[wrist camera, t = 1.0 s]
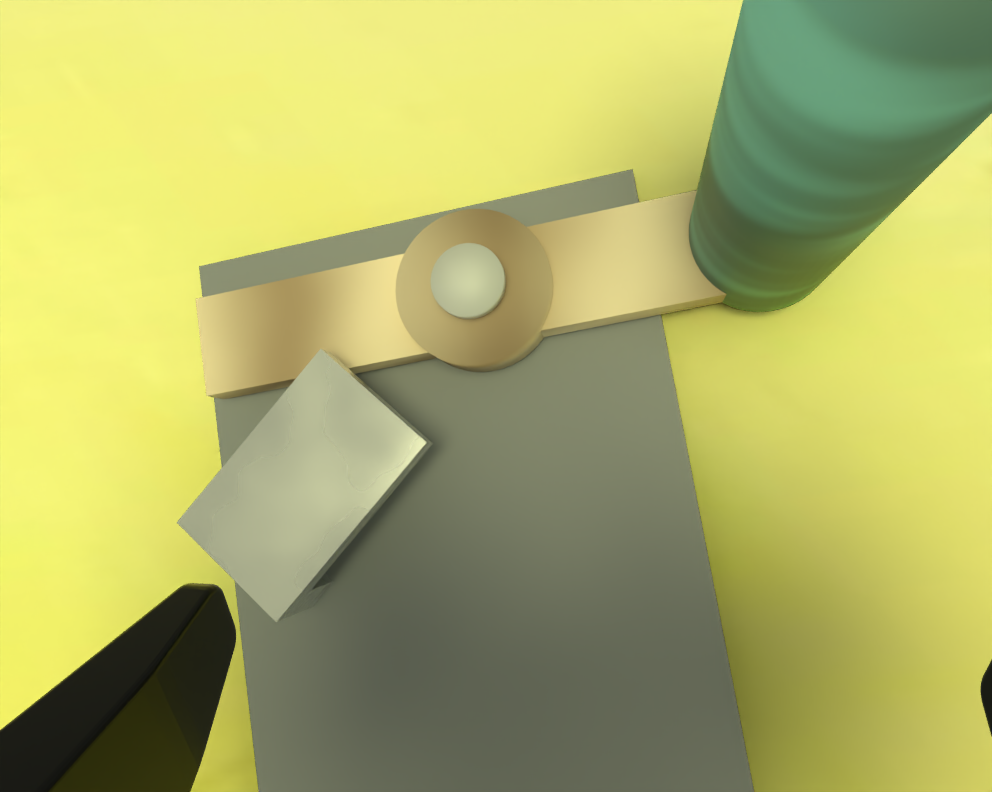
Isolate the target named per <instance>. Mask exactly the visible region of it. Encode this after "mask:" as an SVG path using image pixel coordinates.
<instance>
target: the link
mask: <svg viewBox="0 0 992 792" xmlns="http://www.w3.org/2000/svg"><path fill="white" fill-rule="evenodd" d="M991 113H992V0H743V3H742V8H741V12H740V16H739V20H738V24H737V28H736V32H735V36H734V40H733V44H732V49H731V53H730V57H729V61H728V65H727V69H726V73H725V77H724V81H723V85H722V90H721V94H720V98H719V102H718V106H717V110H716V114H715V118H714V122H713V127H712V131H711V135H710V139H709V143H708V147H707V151H706V155H705V159H704V163H703V168H702V172H701V176H700V180H699V184H698V188H697V190H694V191H690V192H685V193H680V194H676V195H671V196H667V197H662V198H657V199H653V200H648V201H644V202H639V203H634V204H630V205H625V206H621V207H616V208H611V209H607V210H602V211H598V212H593V213H588V214H584V215H579V216H575V217H570V218H565V219H561V220H556V221H552V222H547V223H542V224H538V225H533V226H529V227H526V226H524V225H523V224H522V223H520V222H519V221H518V220H516V219H514V218H512V217H511V216H509V215H506V214H503V213H501V212H497V211H493V210H488V209H467V210H460V211H457V212H453V213H450V214H448V215H445V216H443V217H441V218H439V219H437V220H436V221H434V222H432V223H431V224H430V225H428V226H427V227H426V228H424V229H423V230H422V231H421V232H420V233H419V234H418V235H417V236H416V237H415V239H414V240H413V241H412V242H411V244H410V245H409V247H408V248H407V250H406V252H405V253H404V254H400V255H395V256H391V257H386V258H381V259H377V260H372V261H368V262H363V263H358V264H354V265H349V266H345V267H340V268H335V269H331V270H326V271H322V272H317V273H312V274H308V275H303V276H299V277H294V278H289V279H285V280H280V281H276V282H271V283H266V284H262V285H257V286H253V287H248V288H243V289H239V290H234V291H230V292H225V293H220V294H216V295H211V296H206V297H202V298H197V299H196V306H197V315H198V324H199V333H200V341H201V350H202V359H203V368H204V377H205V386H206V395H207V396H210V397H215V398H220V399H228V398H233V397H238V396H243V395H249V394H254V393H259V392H264V391H269V390H274V389H279V388H285V387H289V386H290V385H291V384H292V383H293V381H294V380H295V379H296V378H297V377H298V375H299V374H300V373H301V372H302V371H303V369H304V368H305V367H306V366H307V365H308V363H309V362H310V361H311V360H312V358H313V357H314V356H315V355H316V354H317V352H318V351H319V350H320V349H323V350H325V351H328V352H330V353H331V354H333V355H334V356H335V357H336V358H337V359H338V360H339V361H340V362H342V363H343V364H344V365H345V366H346V367H347V368H348V369H350V370H351V371H352V372H353V373H354V374H357V373H362V372H367V371H372V370H377V369H382V368H388V367H393V366H398V365H403V364H408V363H413V362H418V361H424V360H429V359H434V358H438V359H440V360H442V361H443V362H445V363H447V364H448V365H451V366H453V367H455V368H458V369H462V370H465V371H472V372H488V371H495V370H499V369H503V368H506V367H508V366H511V365H513V364H515V363H517V362H518V361H520V360H522V359H523V358H525V357H526V356H527V355H529V354H530V353H531V352H532V351H533V350H534V349H535V348H536V347H537V346H538V345H539V343H540V342H541V341H542V340H543V338H544V337H547V336H552V335H557V334H563V333H568V332H573V331H578V330H583V329H588V328H594V327H599V326H604V325H609V324H614V323H619V322H624V321H630V320H635V319H640V318H645V317H650V316H655V315H660V314H666V313H671V312H676V311H681V310H686V309H691V308H696V307H702V306H707V305H712V304H717V303H724V304H726V305H728V306H731V307H733V308H736V309H740V310H744V311H752V312H766V311H774V310H778V309H782V308H785V307H788V306H790V305H793V304H795V303H797V302H798V301H800V300H802V299H803V298H805V297H806V296H807V295H809V294H810V293H811V292H812V291H813V290H814V289H815V288H816V287H817V286H818V285H819V284H820V283H821V282H822V281H823V280H824V279H825V278H826V277H827V276H828V275H829V274H830V273H831V272H832V271H833V270H834V269H835V268H836V267H837V266H839V265H840V264H841V263H842V262H843V261H844V260H845V259H846V258H847V257H848V256H849V255H850V254H851V253H852V252H853V251H854V250H855V249H856V248H857V247H858V246H859V245H860V244H861V243H862V242H863V241H864V240H865V239H866V238H867V237H868V236H869V235H870V234H871V233H872V232H873V231H874V230H875V229H876V228H877V227H878V226H879V225H880V224H881V223H882V222H883V221H884V220H885V219H886V218H887V217H888V216H889V215H890V214H891V213H892V212H893V211H894V210H895V209H896V208H897V207H898V206H899V205H900V204H901V203H902V202H903V201H904V200H905V199H906V198H907V197H908V196H909V195H910V194H911V193H912V192H913V191H914V190H915V189H916V188H917V187H918V186H919V185H920V184H921V183H922V182H923V181H924V180H925V179H926V178H927V177H928V176H929V175H930V174H931V173H932V172H933V171H934V170H935V169H936V168H937V167H938V166H939V165H940V164H941V163H942V162H943V161H944V160H945V159H946V158H947V157H948V156H949V155H950V154H951V153H952V152H953V151H954V150H955V149H956V148H957V147H958V146H959V145H960V144H961V143H962V142H963V141H964V140H965V139H966V138H967V137H968V136H969V135H970V134H971V133H972V132H973V131H974V130H975V129H976V128H977V127H978V126H979V125H980V124H981V123H982V122H983V121H984V120H985V119H986V118H987V117H988V116H989V115H990V114H991ZM463 243H475V244H479V245H482V246H484V247H486V248H488V249H489V250H491V251H492V252H493V253H494V254H495V255H496V257H497V258H498V259H499V261H500V263H501V264H502V266H503V269H504V271H505V275H506V288H505V292H504V295H503V297H502V299H501V301H500V303H499V304H498V305H497V306H496V308H494V309H493V310H492V311H491V312H490V313H488V314H486V315H485V316H482V317H480V318H476V319H461V318H457V317H455V316H453V315H451V314H449V313H448V312H447V311H445V310H444V309H443V308H442V307H441V306H440V305H439V304H438V303H437V301H436V300H435V298H434V296H433V293H432V290H431V273H432V270H433V267H434V265H435V263H436V261H437V260H438V258H439V257H440V256H441V255H442V254H443V253H444V252H445V251H446V250H448V249H449V248H451V247H453V246H456V245H459V244H463Z"/></svg>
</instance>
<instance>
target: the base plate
mask: <svg viewBox="0 0 992 792" xmlns="http://www.w3.org/2000/svg"><path fill="white" fill-rule="evenodd" d="M634 203H639V200H638V195H637V190H636V185H635V180H634V175H633V169H632V170H627V171H623V172H618V173H614V174H609V175H605V176H600V177H596V178H591V179H587V180H583V181H578V182H574V183H569V184H565V185H560V186H556V187H551V188H547V189H542V190H538V191H534V192H529V193H525V194H520V195H516V196H511V197H507V198H502V199H498V200H493V201H489V202H484V203H480V204H476V205H471V206H467V207H462V208H458V209H453V210H449V211H444V212H440V213H435V214H431V215H426V216H422V217H418V218H413V219H409V220H404V221H400V222H395V223H391V224H386V225H382V226H377V227H373V228H368V229H364V230H360V231H355V232H351V233H346V234H342V235H337V236H333V237H328V238H324V239H319V240H315V241H310V242H306V243H302V244H297V245H293V246H288V247H284V248H279V249H275V250H270V251H266V252H261V253H257V254H252V255H248V256H244V257H239V258H235V259H230V260H226V261H221V262H217V263H212V264H208V265H203V266H199V270H200V279H201V288H202V296H203V297H206V296H211V295H216V294H220V293H225V292H230V291H234V290H239V289H243V288H248V287H253V286H257V285H262V284H266V283H271V282H276V281H280V280H285V279H289V278H294V277H299V276H303V275H308V274H312V273H317V272H322V271H326V270H331V269H335V268H340V267H345V266H349V265H354V264H358V263H363V262H368V261H372V260H377V259H381V258H386V257H391V256H395V255H400V254H404V253H405V252H406V250H407V248H408V247H409V245H410V244H411V242H412V241H413V240H414V239H415V237H416V236H417V235H418V234H419V233H420V232H421V231H422V230H423V229H424V228H426V227H427V226H428V225H430V224H431V223H432V222H434V221H436V220H437V219H439V218H441V217H443V216H445V215H448V214H450V213H453V212H457V211H460V210H467V209H488V210H493V211H497V212H501V213H503V214H506V215H509V216H511V217H512V218H514V219H516V220H518V221H519V222H520V223H522V224H523V225H524V226H526V227H529V226H533V225H538V224H542V223H547V222H552V221H556V220H561V219H565V218H570V217H575V216H579V215H584V214H588V213H593V212H598V211H602V210H607V209H611V208H616V207H621V206H625V205H630V204H634ZM505 288H506V275H505V271H504V269H503V266H502V264H501V263H500V261H499V259H498V258H497V257H496V255H495V254H494V253H493V252H492V251H491V250H489V249H488V248H486V247H484V246H482V245H479V244H475V243H463V244H459V245H456V246H453V247H451V248H449V249H448V250H446V251H445V252H444V253H443V254H442V255H441V256H440V257H439V258H438V260H437V261H436V263H435V265H434V267H433V270H432V273H431V290H432V293H433V296H434V298H435V300H436V301H437V303H438V304H439V305H440V306H441V307H442V308H443V309H444V310H445V311H447V312H448V313H449V314H451V315H453V316H455V317H457V318H461V319H476V318H480V317H482V316H485V315H486V314H488V313H490V312H491V311H492V310H493V309H494V308H496V306H497V305H498V304H499V303H500V301H501V299H502V297H503V295H504V292H505ZM355 375H356V376H357V377H359V378H360V379H361V380H362V381H363V382H364V383H365V384H366V385H368V386H369V387H370V388H371V389H372V390H373V391H374V392H376V393H377V394H378V395H379V396H380V397H381V398H382V399H383V400H385V401H386V402H387V403H388V404H389V405H390V406H391V407H392V408H394V409H395V410H396V411H397V412H398V413H399V414H400V415H402V416H403V417H404V418H405V419H406V420H407V421H408V422H409V423H411V424H412V425H413V426H414V427H415V428H416V429H417V430H418V431H420V432H421V433H422V434H423V435H424V436H425V437H426V438H428V439H429V440H430V441H431V442H432V443H433V444H432V446H431V447H430V448H429V449H428V450H427V452H426V453H425V454H424V455H423V456H422V458H421V459H420V460H419V461H418V462H417V464H416V465H415V466H414V467H413V468H412V469H411V471H410V472H409V473H408V474H407V475H406V477H405V478H404V479H403V480H402V481H401V483H400V484H399V485H398V486H397V487H396V489H395V490H394V491H393V492H392V493H391V495H390V496H389V497H388V498H387V499H386V501H385V502H384V503H383V504H382V505H381V507H380V508H379V509H378V510H377V511H376V513H375V514H374V515H373V516H372V517H371V518H370V520H369V521H368V522H367V523H366V524H365V526H364V527H363V528H362V529H361V530H360V532H359V533H358V534H357V535H356V536H355V538H354V539H353V540H352V541H351V542H350V544H349V545H348V546H347V547H346V548H345V550H344V551H343V552H342V553H341V554H340V556H339V557H338V558H337V559H336V560H335V562H334V563H333V564H332V565H331V566H330V567H329V569H328V570H327V571H326V572H325V573H326V574H327V575H328V576H329V577H330V578H331V579H332V580H333V581H334V582H333V583H332V585H331V586H330V587H329V588H328V589H327V591H326V592H325V593H324V594H323V595H322V597H321V598H320V599H319V600H318V601H317V602H316V604H315V605H314V606H313V607H312V608H309V609H307V610H304V611H302V612H300V613H297V614H295V615H292V616H290V617H288V618H285V619H283V620H280V621H278V622H275V621H274V620H273V619H272V618H271V617H270V616H269V615H268V614H267V613H266V612H265V611H264V610H263V609H262V608H261V607H260V606H259V605H258V604H257V603H256V602H255V601H254V600H253V599H252V598H251V597H250V596H249V595H248V594H247V593H246V592H245V591H244V590H243V589H242V588H241V587H240V586H239V585H238V583H237V582H236V581H235V587H236V596H237V605H238V614H239V622H240V631H241V640H242V649H243V658H244V666H245V675H246V684H247V693H248V702H249V711H250V719H251V728H252V737H253V746H254V755H255V763H256V772H257V781H258V790H259V792H754V789H753V783H752V778H751V773H750V768H749V763H748V758H747V753H746V748H745V743H744V737H743V732H742V727H741V722H740V717H739V712H738V707H737V702H736V696H735V691H734V686H733V681H732V676H731V671H730V666H729V661H728V656H727V650H726V645H725V640H724V635H723V630H722V625H721V620H720V615H719V609H718V604H717V599H716V594H715V589H714V584H713V579H712V574H711V569H710V563H709V558H708V553H707V548H706V543H705V538H704V533H703V528H702V522H701V517H700V512H699V507H698V502H697V497H696V492H695V487H694V482H693V476H692V471H691V466H690V461H689V456H688V451H687V446H686V441H685V435H684V430H683V425H682V420H681V415H680V410H679V405H678V400H677V395H676V389H675V384H674V379H673V374H672V369H671V364H670V359H669V354H668V349H667V343H666V338H665V333H664V328H663V323H662V318H661V314H660V315H655V316H650V317H645V318H640V319H635V320H630V321H624V322H619V323H614V324H609V325H604V326H599V327H594V328H588V329H583V330H578V331H573V332H568V333H563V334H557V335H552V336H547V337H544V338H543V340H542V341H541V342H540V343H539V345H538V346H537V347H536V348H535V349H534V350H533V351H532V352H531V353H530V354H529V355H527V356H526V357H525V358H523V359H522V360H520V361H518V362H517V363H515V364H513V365H511V366H508V367H506V368H503V369H499V370H495V371H488V372H472V371H465V370H462V369H458V368H455V367H453V366H451V365H448V364H447V363H445V362H443V361H442V360H440V359H438V358H434V359H429V360H424V361H418V362H413V363H408V364H403V365H398V366H393V367H388V368H382V369H377V370H372V371H367V372H362V373H357V374H355ZM287 389H288V387H285V388H279V389H274V390H269V391H264V392H259V393H254V394H249V395H243V396H238V397H233V398H228V399H220V398H215V397H214V402H215V411H216V420H217V429H218V437H219V446H220V455H221V464H222V467H223V466H224V465H225V464H226V462H227V461H228V460H229V459H230V458H231V456H232V455H233V454H234V453H235V452H236V450H237V449H238V448H239V447H240V446H241V444H242V443H243V442H244V441H245V440H246V438H247V437H248V436H249V435H250V433H251V432H252V431H253V430H254V429H255V427H256V426H257V425H258V424H259V423H260V421H261V420H262V419H263V418H264V417H265V415H266V414H267V413H268V412H269V410H270V409H271V408H272V407H273V406H274V404H275V403H276V402H277V401H278V400H279V398H280V397H281V396H282V395H283V394H284V392H285V391H286V390H287Z"/></svg>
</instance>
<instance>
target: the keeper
mask: <svg viewBox="0 0 992 792" xmlns="http://www.w3.org/2000/svg"><path fill="white" fill-rule="evenodd" d="M432 444H433V443H432V442H431V441H430V440H429V439H428V438H426V437H425V436H424V435H423V434H422V433H421V432H420V431H418V430H417V429H416V428H415V427H414V426H413V425H412V424H411V423H409V422H408V421H407V420H406V419H405V418H404V417H403V416H402V415H400V414H399V413H398V412H397V411H396V410H395V409H394V408H392V407H391V406H390V405H389V404H388V403H387V402H386V401H385V400H383V399H382V398H381V397H380V396H379V395H378V394H377V393H376V392H374V391H373V390H372V389H371V388H370V387H369V386H368V385H366V384H365V383H364V382H363V381H362V380H361V379H360V378H359V377H357V376H356V375H355V374H354V373H353V372H352V371H351V370H350V369H348V368H347V367H346V366H345V365H344V364H343V363H342V362H340V361H339V360H338V359H337V358H336V357H335V356H334V355H333V354H331V353H330V352H328V351H325V350H323V349H320V350H319V351H318V352H317V354H316V355H315V356H314V357H313V358H312V360H311V361H310V362H309V363H308V365H307V366H306V367H305V368H304V369H303V371H302V372H301V373H300V374H299V375H298V377H297V378H296V379H295V380H294V381H293V383H292V384H291V385H290V386H289V387H288V389H287V390H286V391H285V392H284V394H283V395H282V396H281V397H280V398H279V400H278V401H277V402H276V403H275V404H274V406H273V407H272V408H271V409H270V410H269V412H268V413H267V414H266V415H265V417H264V418H263V419H262V420H261V421H260V423H259V424H258V425H257V426H256V427H255V429H254V430H253V431H252V432H251V433H250V435H249V436H248V437H247V438H246V440H245V441H244V442H243V443H242V444H241V446H240V447H239V448H238V449H237V450H236V452H235V453H234V454H233V455H232V456H231V458H230V459H229V460H228V461H227V462H226V464H225V465H224V466H223V467H222V469H221V470H220V471H219V472H218V473H217V475H216V476H215V477H214V478H213V479H212V481H211V482H210V483H209V484H208V485H207V487H206V488H205V489H204V490H203V492H202V493H201V494H200V495H199V496H198V498H197V499H196V500H195V501H194V502H193V504H192V505H191V506H190V507H189V508H188V510H187V511H186V512H185V513H184V515H183V516H182V517H181V518H180V519H179V521H178V522H177V523H178V524H179V525H180V526H181V527H182V528H183V529H184V530H185V531H186V532H187V533H188V534H189V535H190V536H191V537H192V538H193V539H194V540H195V541H196V542H197V543H198V544H199V545H200V546H201V547H202V548H203V549H204V550H205V551H206V552H207V553H208V554H209V555H210V556H211V557H212V558H213V559H214V560H215V561H216V562H217V563H218V564H219V565H220V566H221V567H222V568H223V569H224V570H225V571H226V572H227V573H228V574H229V575H230V576H231V577H232V578H233V579H234V580H235V581H236V582H237V583H238V585H239V586H240V587H241V588H242V589H243V590H244V591H245V592H246V593H247V594H248V595H249V596H250V597H251V598H252V599H253V600H254V601H255V602H256V603H257V604H258V605H259V606H260V607H261V608H262V609H263V610H264V611H265V612H266V613H267V614H268V615H269V616H270V617H271V618H272V619H273V620H274V621H275V622H278V621H280V620H283V619H285V618H288V617H290V616H292V615H295V614H297V613H300V612H302V611H304V610H307V609H309V608H312V607H313V606H314V605H315V604H316V602H317V601H318V600H319V599H320V598H321V597H322V595H323V594H324V593H325V592H326V591H327V589H328V588H329V587H330V586H331V585H332V583H333V582H334V581H333V580H332V579H331V578H330V577H329V576H328V575H327V574H326V573H325V572H326V571H327V570H328V569H329V567H330V566H331V565H332V564H333V563H334V562H335V560H336V559H337V558H338V557H339V556H340V554H341V553H342V552H343V551H344V550H345V548H346V547H347V546H348V545H349V544H350V542H351V541H352V540H353V539H354V538H355V536H356V535H357V534H358V533H359V532H360V530H361V529H362V528H363V527H364V526H365V524H366V523H367V522H368V521H369V520H370V518H371V517H372V516H373V515H374V514H375V513H376V511H377V510H378V509H379V508H380V507H381V505H382V504H383V503H384V502H385V501H386V499H387V498H388V497H389V496H390V495H391V493H392V492H393V491H394V490H395V489H396V487H397V486H398V485H399V484H400V483H401V481H402V480H403V479H404V478H405V477H406V475H407V474H408V473H409V472H410V471H411V469H412V468H413V467H414V466H415V465H416V464H417V462H418V461H419V460H420V459H421V458H422V456H423V455H424V454H425V453H426V452H427V450H428V449H429V448H430V447H431V446H432Z"/></svg>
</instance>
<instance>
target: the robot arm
mask: <svg viewBox="0 0 992 792" xmlns="http://www.w3.org/2000/svg"><path fill="white" fill-rule="evenodd" d="M235 642H236V629H235V625H234V622H233V619H232V616H231V613H230V611H229V608H228V605H227V602H226V599H225V596H224V593H223V591H222V589H221V588H219V587H218V586H217V585H213V584H197V583H190V584H185V585H183V586H181V587H180V588H178V589H177V590H176V591H175V592H173V593H172V594H171V595H170V596H168V597H167V598H166V599H164V600H163V601H162V602H161V603H159V604H158V605H157V606H156V607H154V608H153V609H152V610H151V611H149V612H148V613H147V614H146V615H144V616H143V617H142V618H141V619H139V620H138V621H137V622H136V623H134V624H133V625H132V626H131V627H129V628H128V629H127V630H125V631H124V632H123V633H122V634H120V635H119V636H118V637H117V638H115V639H114V640H113V641H112V642H110V643H109V644H108V645H107V646H105V647H104V648H103V649H102V650H100V651H99V652H98V653H97V654H95V655H94V656H93V657H92V658H90V659H89V660H88V661H87V662H85V663H84V664H83V665H81V666H80V667H79V668H78V669H76V670H75V671H74V672H73V673H71V674H70V675H69V676H68V677H66V678H65V679H64V680H63V681H61V682H60V683H59V684H58V685H56V686H55V687H54V688H53V689H51V690H50V691H49V692H48V693H46V694H45V695H44V696H42V697H41V698H40V699H39V700H37V701H36V702H35V703H34V704H32V705H31V706H30V707H29V708H27V709H26V710H25V711H24V712H22V713H21V714H20V715H19V716H17V717H16V718H15V719H14V720H12V721H11V722H10V723H9V724H7V725H6V726H5V727H3V728H2V729H1V730H0V792H190V791H191V788H192V785H193V783H194V780H195V777H196V775H197V772H198V770H199V767H200V764H201V760H202V757H203V754H204V751H205V748H206V744H207V741H208V737H209V734H210V731H211V727H212V724H213V720H214V717H215V713H216V710H217V707H218V703H219V700H220V696H221V693H222V689H223V686H224V682H225V679H226V676H227V672H228V669H229V665H230V662H231V658H232V655H233V651H234V648H235ZM981 698H982V703H983V706H984V710H985V714H986V717H987V721H988V725H989V728H990V732H991V736H992V660H991V662H990V664H989V666H988V668H987V670H986V672H985V673H984V675H983V678H982V682H981Z"/></svg>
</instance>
